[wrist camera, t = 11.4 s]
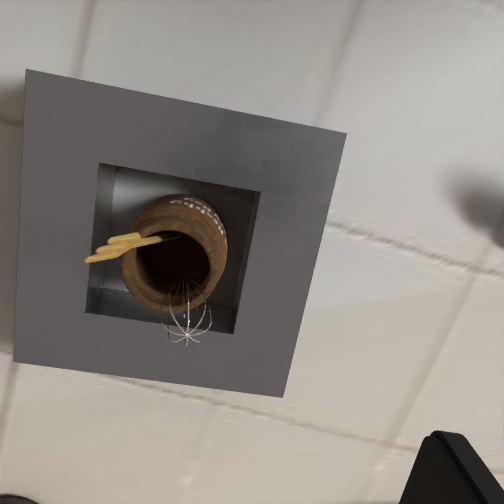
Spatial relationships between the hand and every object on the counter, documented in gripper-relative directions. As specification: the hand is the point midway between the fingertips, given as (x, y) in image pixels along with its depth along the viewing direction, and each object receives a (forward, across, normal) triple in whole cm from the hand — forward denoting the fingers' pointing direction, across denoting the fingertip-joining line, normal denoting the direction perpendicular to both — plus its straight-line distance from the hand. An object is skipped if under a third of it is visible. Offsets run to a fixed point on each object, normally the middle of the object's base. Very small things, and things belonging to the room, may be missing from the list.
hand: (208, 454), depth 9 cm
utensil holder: (+21, +3, +1) cm, 21 cm away
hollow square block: (+21, +3, +1) cm, 21 cm away
